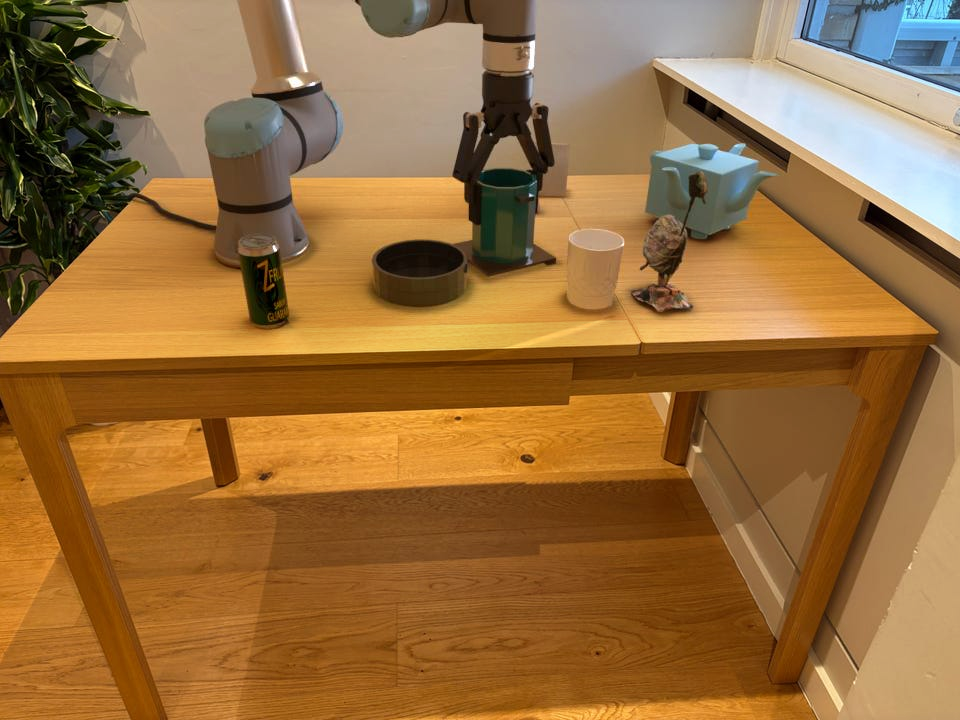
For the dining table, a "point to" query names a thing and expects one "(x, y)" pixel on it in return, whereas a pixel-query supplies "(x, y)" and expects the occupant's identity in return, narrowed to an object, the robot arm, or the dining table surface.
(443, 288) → the pan
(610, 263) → the white cup
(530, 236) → the pot
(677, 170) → the teakettle
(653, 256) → the brown figurine
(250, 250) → the green soda can
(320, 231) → the dining table surface
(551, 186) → the white upright block
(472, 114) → the robot arm
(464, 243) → the trivet
